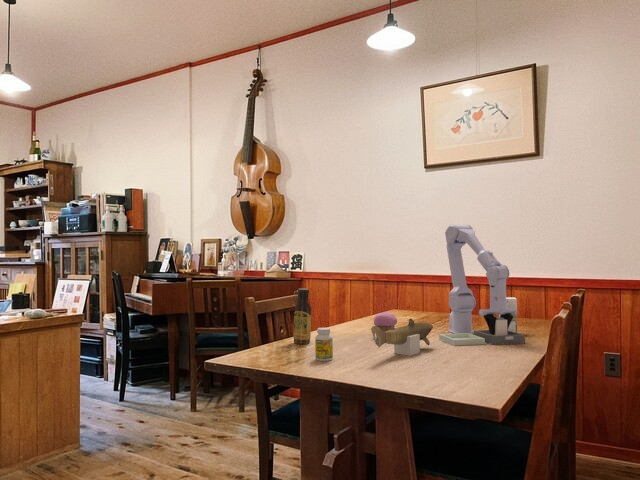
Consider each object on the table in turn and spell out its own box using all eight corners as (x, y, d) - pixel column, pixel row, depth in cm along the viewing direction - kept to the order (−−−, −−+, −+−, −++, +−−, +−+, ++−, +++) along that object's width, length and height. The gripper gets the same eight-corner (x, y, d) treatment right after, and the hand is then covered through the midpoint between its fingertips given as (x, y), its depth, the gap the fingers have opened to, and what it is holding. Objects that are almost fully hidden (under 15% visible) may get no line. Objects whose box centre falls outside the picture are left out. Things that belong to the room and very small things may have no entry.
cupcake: (400, 337, 190) (400, 311, 190) (391, 340, 183) (391, 314, 183) (379, 335, 195) (379, 310, 195) (369, 338, 187) (369, 312, 188)
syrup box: (513, 332, 201) (512, 296, 201) (517, 334, 195) (517, 298, 195) (498, 331, 202) (498, 296, 202) (502, 334, 196) (502, 298, 196)
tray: (439, 339, 185) (439, 334, 185) (468, 338, 187) (468, 333, 187) (454, 345, 173) (454, 339, 173) (484, 344, 175) (484, 338, 175)
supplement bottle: (334, 358, 154) (334, 327, 154) (330, 361, 149) (329, 330, 149) (318, 357, 155) (318, 326, 156) (313, 360, 150) (313, 329, 150)
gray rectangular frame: (473, 338, 187) (473, 330, 187) (504, 336, 190) (504, 329, 190) (493, 345, 174) (493, 336, 174) (525, 343, 176) (525, 335, 176)
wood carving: (360, 361, 149) (359, 324, 150) (419, 344, 175) (419, 313, 176) (384, 365, 143) (384, 327, 144) (442, 347, 169) (441, 315, 170)
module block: (489, 339, 184) (489, 316, 184) (500, 339, 185) (500, 316, 185) (496, 342, 179) (496, 318, 180) (507, 341, 180) (507, 318, 180)
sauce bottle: (290, 344, 177) (290, 289, 178) (297, 341, 183) (297, 287, 184) (307, 345, 175) (306, 289, 175) (313, 342, 181) (313, 288, 181)
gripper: (486, 299, 177) (486, 336, 177) (521, 298, 180) (522, 335, 180) (476, 297, 184) (476, 333, 184) (510, 296, 187) (511, 332, 187)
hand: (498, 334), depth 182 cm, fingers closed on module block, 4 cm apart
